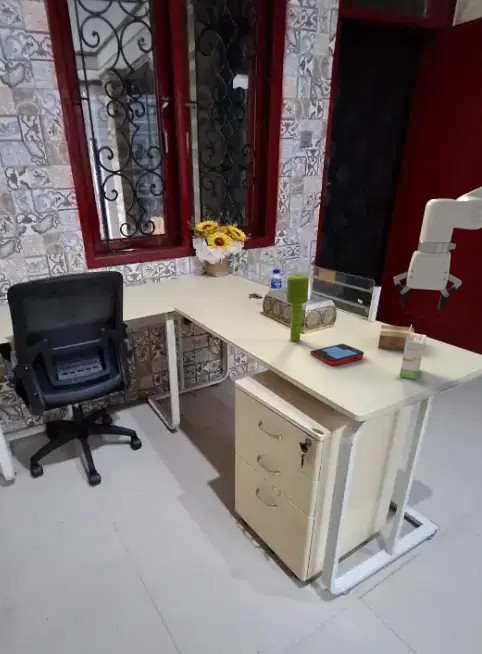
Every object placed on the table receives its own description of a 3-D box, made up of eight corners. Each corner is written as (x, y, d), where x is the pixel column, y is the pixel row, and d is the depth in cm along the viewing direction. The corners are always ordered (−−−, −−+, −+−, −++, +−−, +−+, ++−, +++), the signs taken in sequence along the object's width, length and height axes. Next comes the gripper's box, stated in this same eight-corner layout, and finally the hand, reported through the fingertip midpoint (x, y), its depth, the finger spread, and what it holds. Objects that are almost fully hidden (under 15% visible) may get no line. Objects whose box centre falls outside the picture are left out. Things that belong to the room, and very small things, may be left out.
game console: (342, 346, 152) (343, 340, 151) (366, 359, 141) (367, 353, 140) (308, 353, 148) (309, 347, 147) (331, 367, 137) (331, 361, 136)
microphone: (282, 337, 163) (284, 274, 152) (301, 335, 163) (304, 272, 152) (288, 345, 155) (291, 279, 144) (308, 343, 156) (312, 277, 145)
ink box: (416, 380, 126) (425, 334, 120) (399, 376, 129) (406, 332, 122) (420, 368, 133) (429, 325, 126) (403, 366, 135) (411, 323, 129)
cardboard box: (412, 340, 153) (414, 327, 151) (411, 351, 145) (414, 338, 142) (379, 337, 158) (381, 324, 156) (377, 348, 149) (379, 334, 147)
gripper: (468, 246, 113) (453, 306, 121) (399, 244, 120) (389, 301, 128) (471, 251, 107) (455, 314, 115) (398, 249, 114) (388, 308, 122)
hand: (421, 307), depth 121 cm, fingers open, 9 cm apart
